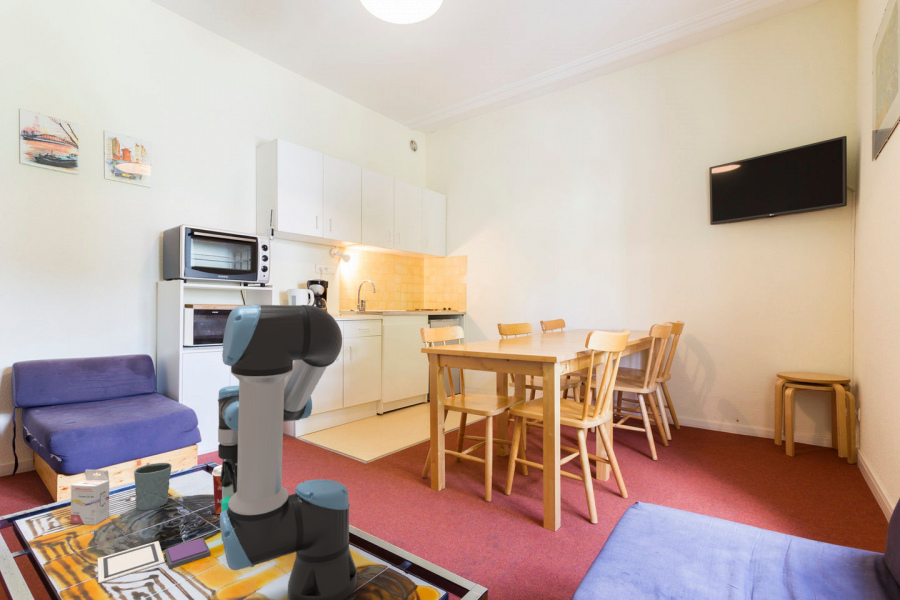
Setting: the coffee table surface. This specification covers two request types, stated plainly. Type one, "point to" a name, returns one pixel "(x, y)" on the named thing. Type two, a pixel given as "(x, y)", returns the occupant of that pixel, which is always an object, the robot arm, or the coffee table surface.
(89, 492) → the ink cartridge box
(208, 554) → the ink pad
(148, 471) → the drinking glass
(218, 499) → the paper cup
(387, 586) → the coffee table surface
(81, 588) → the coffee table surface
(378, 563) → the coffee table surface
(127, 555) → the marked card
